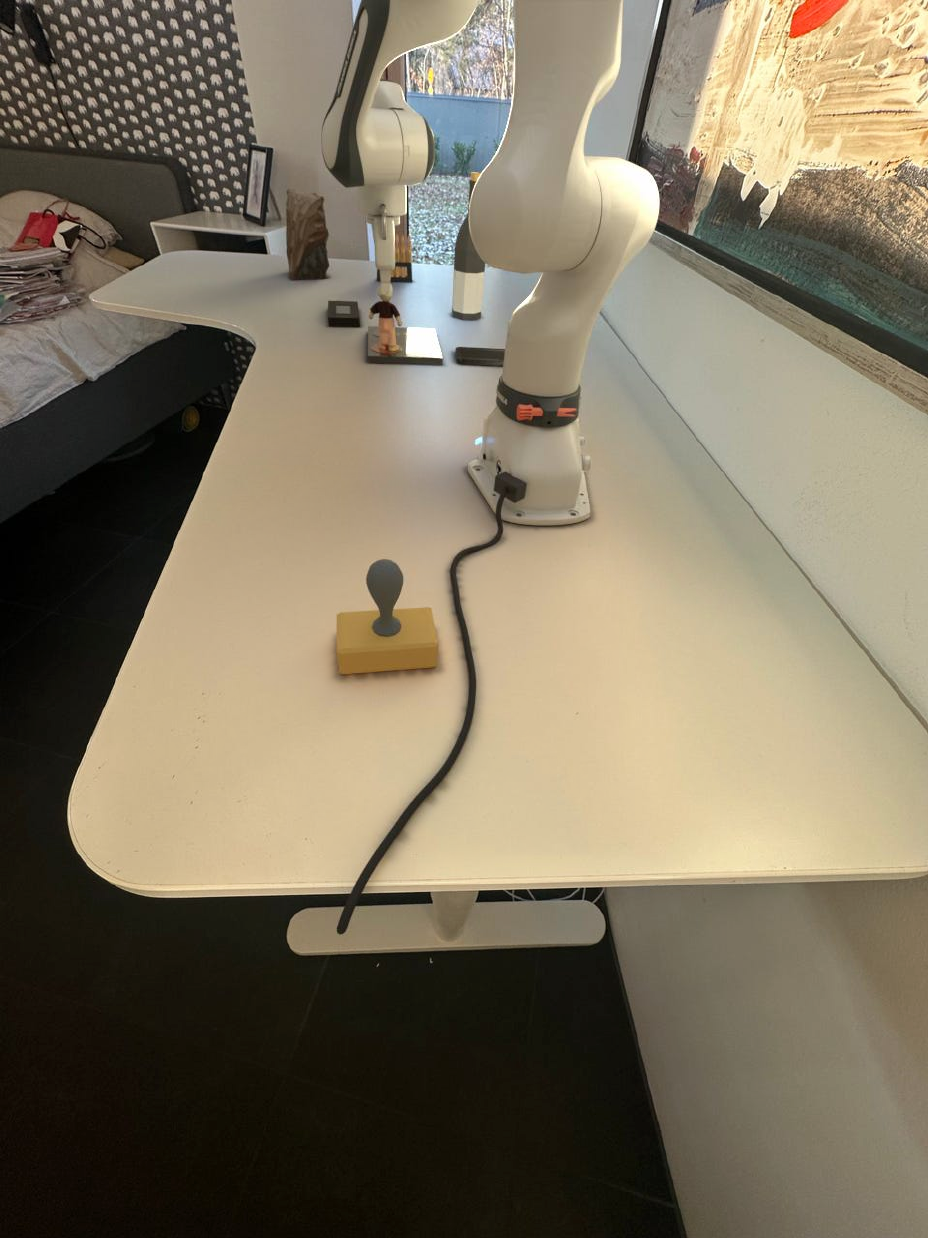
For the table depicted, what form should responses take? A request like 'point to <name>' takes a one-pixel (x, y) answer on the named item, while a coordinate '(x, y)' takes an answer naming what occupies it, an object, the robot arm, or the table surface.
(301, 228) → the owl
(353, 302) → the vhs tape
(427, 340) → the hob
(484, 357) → the phone
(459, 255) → the wine bottle
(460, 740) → the robot arm
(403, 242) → the ammunition clip
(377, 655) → the rubber stamp
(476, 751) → the table surface
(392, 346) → the grandmother figurine
